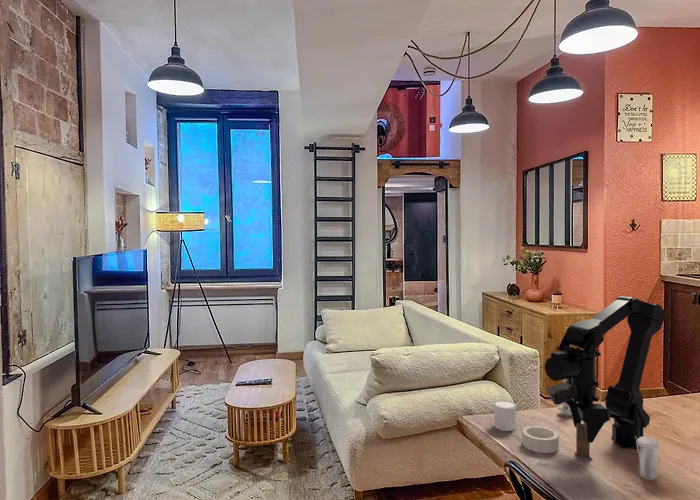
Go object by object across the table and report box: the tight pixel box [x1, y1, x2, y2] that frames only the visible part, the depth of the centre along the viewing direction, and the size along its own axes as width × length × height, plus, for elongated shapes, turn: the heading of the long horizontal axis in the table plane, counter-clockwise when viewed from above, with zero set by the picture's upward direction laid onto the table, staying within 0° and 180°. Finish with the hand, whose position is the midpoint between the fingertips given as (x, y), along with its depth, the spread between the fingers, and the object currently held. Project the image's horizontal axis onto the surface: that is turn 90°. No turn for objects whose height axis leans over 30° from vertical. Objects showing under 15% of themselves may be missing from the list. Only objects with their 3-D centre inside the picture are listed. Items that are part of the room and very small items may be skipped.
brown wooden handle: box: [573, 423, 593, 461], centre depth 122 cm, size 3×3×9 cm
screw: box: [557, 379, 572, 417], centre depth 150 cm, size 13×5×5 cm
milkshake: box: [635, 436, 660, 481], centre depth 112 cm, size 4×5×10 cm
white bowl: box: [521, 425, 560, 454], centre depth 129 cm, size 9×9×4 cm
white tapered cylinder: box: [492, 400, 518, 432], centre depth 142 cm, size 7×7×7 cm
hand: (583, 434), depth 122 cm, fingers open, 9 cm apart
